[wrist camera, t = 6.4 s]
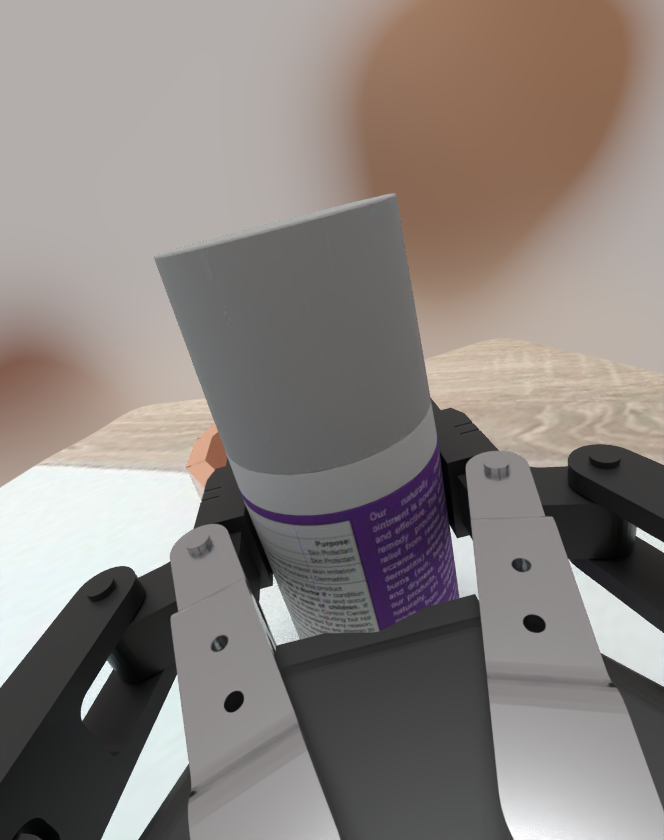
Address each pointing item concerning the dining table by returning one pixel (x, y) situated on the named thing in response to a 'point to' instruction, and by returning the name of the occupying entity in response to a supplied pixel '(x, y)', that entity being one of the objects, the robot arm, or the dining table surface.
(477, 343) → the dining table surface
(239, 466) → the container
